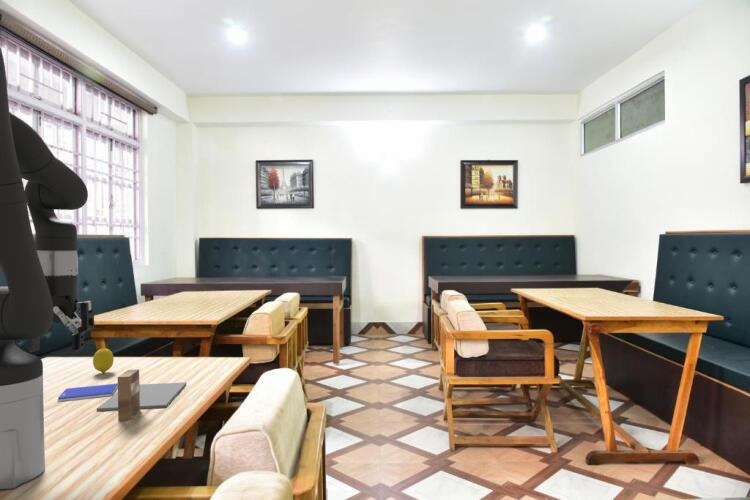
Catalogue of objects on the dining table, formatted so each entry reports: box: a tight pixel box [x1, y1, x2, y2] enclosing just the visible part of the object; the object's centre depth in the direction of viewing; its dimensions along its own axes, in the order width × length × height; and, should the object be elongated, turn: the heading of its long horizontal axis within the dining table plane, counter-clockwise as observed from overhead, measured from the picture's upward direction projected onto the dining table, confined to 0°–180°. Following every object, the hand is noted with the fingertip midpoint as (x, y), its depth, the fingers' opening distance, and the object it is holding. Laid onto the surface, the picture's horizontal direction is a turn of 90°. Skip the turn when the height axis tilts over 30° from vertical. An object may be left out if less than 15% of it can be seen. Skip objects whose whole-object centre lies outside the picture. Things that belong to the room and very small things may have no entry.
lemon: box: [92, 347, 114, 374], centre depth 142 cm, size 6×6×8 cm
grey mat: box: [96, 382, 187, 412], centre depth 120 cm, size 18×16×1 cm
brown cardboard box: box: [117, 368, 141, 421], centre depth 107 cm, size 6×3×10 cm, turn 8°
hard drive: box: [57, 383, 118, 402], centre depth 123 cm, size 2×8×12 cm
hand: (55, 351), depth 93 cm, fingers open, 8 cm apart
